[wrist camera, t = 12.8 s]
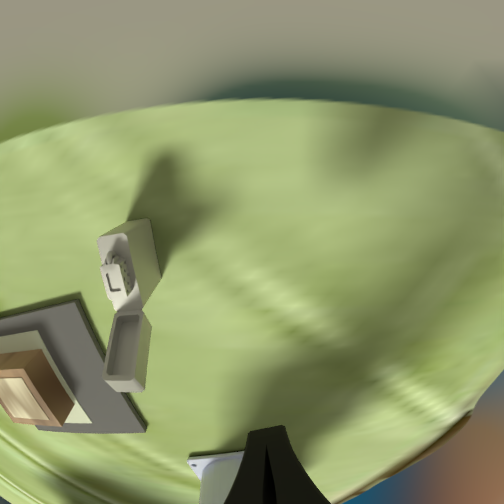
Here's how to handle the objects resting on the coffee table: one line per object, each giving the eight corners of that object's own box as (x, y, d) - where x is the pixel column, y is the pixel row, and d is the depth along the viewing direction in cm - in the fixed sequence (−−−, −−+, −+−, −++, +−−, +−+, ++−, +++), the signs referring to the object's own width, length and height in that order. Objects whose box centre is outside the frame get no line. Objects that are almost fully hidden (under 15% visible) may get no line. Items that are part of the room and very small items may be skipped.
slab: (61, 427, 19) (13, 422, 19) (74, 404, 22) (26, 404, 22) (23, 369, 17) (-21, 371, 17) (41, 348, 20) (-4, 354, 20)
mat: (147, 427, 23) (145, 433, 22) (40, 426, 24) (38, 430, 23) (78, 299, 20) (74, 302, 19) (-22, 323, 20) (-26, 326, 19)
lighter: (124, 221, 18) (59, 259, 11) (149, 217, 18) (94, 253, 11) (148, 323, 20) (109, 399, 13) (171, 321, 20) (141, 399, 13)
